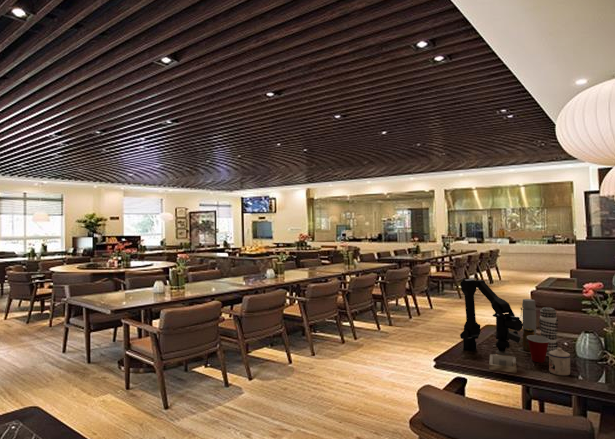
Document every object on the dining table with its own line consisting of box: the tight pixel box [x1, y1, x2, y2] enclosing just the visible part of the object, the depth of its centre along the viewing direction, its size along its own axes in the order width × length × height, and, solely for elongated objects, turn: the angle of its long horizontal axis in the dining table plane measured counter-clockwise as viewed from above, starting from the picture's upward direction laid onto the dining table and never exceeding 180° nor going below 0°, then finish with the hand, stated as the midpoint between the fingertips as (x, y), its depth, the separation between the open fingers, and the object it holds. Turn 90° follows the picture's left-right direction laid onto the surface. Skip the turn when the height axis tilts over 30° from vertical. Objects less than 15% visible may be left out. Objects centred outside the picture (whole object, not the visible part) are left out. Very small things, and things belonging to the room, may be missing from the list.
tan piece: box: [488, 353, 518, 374], centre depth 217 cm, size 12×18×2 cm
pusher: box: [492, 353, 513, 367], centre depth 215 cm, size 8×3×5 cm, turn 66°
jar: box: [495, 350, 510, 356], centre depth 220 cm, size 6×6×6 cm
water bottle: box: [519, 298, 537, 335], centre depth 261 cm, size 9×8×25 cm
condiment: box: [518, 328, 534, 354], centre depth 242 cm, size 7×8×12 cm
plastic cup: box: [527, 334, 550, 364], centre depth 224 cm, size 11×11×12 cm
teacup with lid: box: [548, 347, 571, 376], centre depth 205 cm, size 12×9×12 cm
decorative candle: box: [538, 306, 559, 357], centre depth 235 cm, size 9×9×25 cm
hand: (502, 356), depth 224 cm, fingers closed
